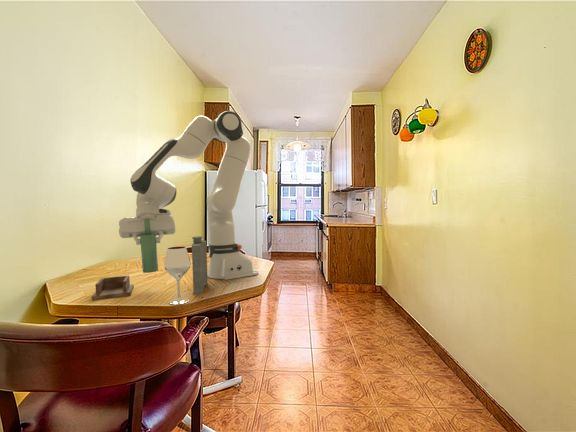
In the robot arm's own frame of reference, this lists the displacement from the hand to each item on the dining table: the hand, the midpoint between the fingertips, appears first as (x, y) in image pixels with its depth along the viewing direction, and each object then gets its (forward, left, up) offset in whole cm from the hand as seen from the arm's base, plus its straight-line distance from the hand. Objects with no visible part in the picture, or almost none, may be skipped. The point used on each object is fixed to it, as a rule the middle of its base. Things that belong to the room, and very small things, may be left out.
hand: (148, 243), depth 118 cm
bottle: (0, -1, -11) cm, 11 cm away
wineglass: (-10, +21, -18) cm, 30 cm away
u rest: (+12, -1, -18) cm, 22 cm away
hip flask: (-18, +7, -18) cm, 26 cm away
